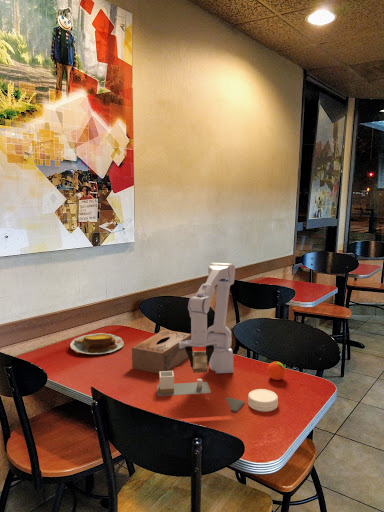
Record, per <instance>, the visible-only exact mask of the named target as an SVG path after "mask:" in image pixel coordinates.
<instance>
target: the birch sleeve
mask: <svg viewBox="0 0 384 512" xmlns="http://www.w3.org/2000/svg"><path fill="white" fill-rule="evenodd" d="M191 370H192V372H193V373H194V374H195V373H196V374H197V373H208V366H207V354H206V350H200V351H196V350H195V351H193V367H191Z"/></svg>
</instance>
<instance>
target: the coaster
mask: <svg viewBox="0 0 384 512" xmlns="http://www.w3.org/2000/svg"><path fill="white" fill-rule="evenodd" d="M278 400H279V397H278V394H277V393H275V392H274V391H272V390H270V389H265V388H258V389H253V390H251V391H249V392H248V395H247V404H248V406H249V407H250V408H251V409H253V410H255V411H257V412H262V413H264V412H266V413H267V412H272V411H275V410H276V409H277V408H278V407H279V401H278Z"/></svg>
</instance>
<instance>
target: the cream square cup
mask: <svg viewBox="0 0 384 512" xmlns="http://www.w3.org/2000/svg"><path fill="white" fill-rule="evenodd" d="M174 384H175V374H174V370H168V371H159V385H160V393H173V392H174Z"/></svg>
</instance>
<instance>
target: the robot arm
mask: <svg viewBox="0 0 384 512" xmlns="http://www.w3.org/2000/svg"><path fill="white" fill-rule="evenodd" d="M235 267H236V266H235V265H234V263H232V262H231V263H225V262H213V261H212V262H210V263H209V265H208V270H207V273H208V277H207V279H206V282H205V283H202V284H201V285H200V287H199V288H198V290H197V291H196V293H195V295H194V296H191V297H190V298H189V300H188V305H187V310H188V313H189V317H190V327H191V328H190V330H191V331H190V334H191V340H187V341H180V342H179V348H185V350H186V352H187V355H188V359H189V364H190V367H191V368H192V367H193V352H194V351H193V348H203V347H204V348H205V352H206V354H207V367H209V369H210V370H211V371H214V372H215V374H232V373H234V352H233V349H232V348H231V347H232V341H233V339H232V331H231V329H230V328H229V327H228V326H227V325H226V324H227V316H228V314H227V313H228V305H229V297H230V289H231V286H232V285H235V284H234V283H235V280H236V279H235V278H236V268H235ZM216 286H217V293H216V301H215V302H216V303H215V310H214V311H215V312H214V319H213V324H212V325H211V326H209V327H208V313H209V311H210V307H211V304H212V303H211V300H212V298H213V297H214V295H215V292H216V290H215V287H216Z"/></svg>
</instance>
